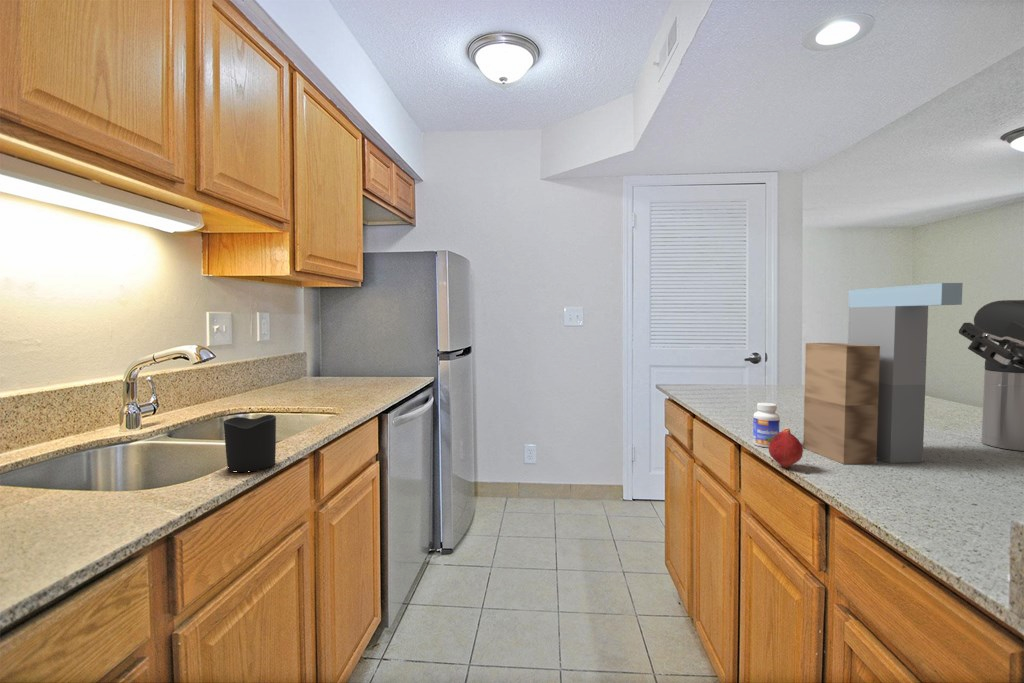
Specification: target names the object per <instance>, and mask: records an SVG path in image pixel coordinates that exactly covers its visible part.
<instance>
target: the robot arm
mask: <svg viewBox="0 0 1024 683" xmlns="http://www.w3.org/2000/svg"><path fill="white" fill-rule="evenodd" d="M958 334H959V335H961V336H962V337H964V338H965V339H967V340H969V341H970V342H971V343H970V344H969V346H967V349H968V350H969V351H971V352H973V353H974V354H976V355H978V356H979V357H981V358H983V359H984V360H985V361H984V372H983V373H984V377H983V379H984V380H983V382H984V383H983V399H982V400H983V401H982V419H981V420H982V421H981V422H982V425H981V443H983V444H984V445H987V446H991V447H994V448H1000V449H1007V450H1011V451H1021V452H1024V299H1011V300H1009V299H1005V300H995V301H992V302H989V303H987V304H984V305H983V306H982V307H980V308H979V309H978V310H977V311H976V313H975V315H974V316H973V323H972V322H963V323H962V325H961V327H960V328H959V330H958ZM997 343H998V344H997Z"/></svg>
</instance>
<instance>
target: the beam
mask: <svg viewBox="0 0 1024 683" xmlns="http://www.w3.org/2000/svg"><path fill="white" fill-rule="evenodd" d="M963 285H964V284H963V282H942V283H941V282H938V283H925V284H912V285H901V286H900V285H899V286H886V287H872V288H861V289H859V288H858V289H849V290H848V303H847V304H848V305H847V306H848V307H847V308H848V309H849V307H880V306H928V307H929V306H931V307H932V306H959V305H961V306H962V305H963Z"/></svg>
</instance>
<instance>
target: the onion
mask: <svg viewBox="0 0 1024 683" xmlns="http://www.w3.org/2000/svg"><path fill="white" fill-rule="evenodd" d="M803 452H804V448H803V445H802V443H801V441H800V440H799V439H798V438H797V436H795V435H793V434H792V433H791V429H790V427H786V428H784V429H783V430H782V431H781V432H780V431H779V433H778V434H776V435H775V436H774V437H773V438H772V440H771V441H770V443H769V448H768V454H769V455H770V457H771V458H772V459H773V461H775V462H776V463H777V464H778V465H780V466H781V467H783V468H785V469H788V468H790V467H791V466H792V465H794V464H796V463H798V462H799V461H800V460H801V458H802V457H803Z"/></svg>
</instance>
